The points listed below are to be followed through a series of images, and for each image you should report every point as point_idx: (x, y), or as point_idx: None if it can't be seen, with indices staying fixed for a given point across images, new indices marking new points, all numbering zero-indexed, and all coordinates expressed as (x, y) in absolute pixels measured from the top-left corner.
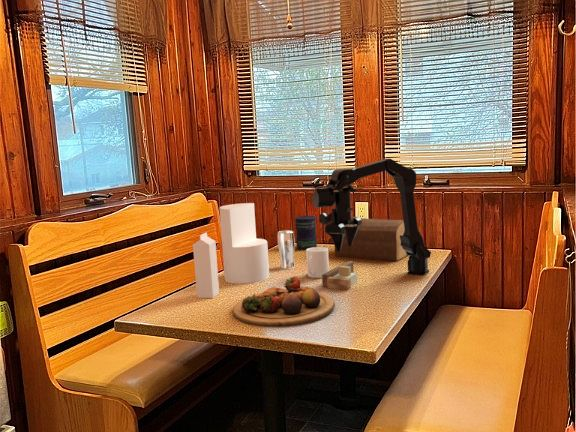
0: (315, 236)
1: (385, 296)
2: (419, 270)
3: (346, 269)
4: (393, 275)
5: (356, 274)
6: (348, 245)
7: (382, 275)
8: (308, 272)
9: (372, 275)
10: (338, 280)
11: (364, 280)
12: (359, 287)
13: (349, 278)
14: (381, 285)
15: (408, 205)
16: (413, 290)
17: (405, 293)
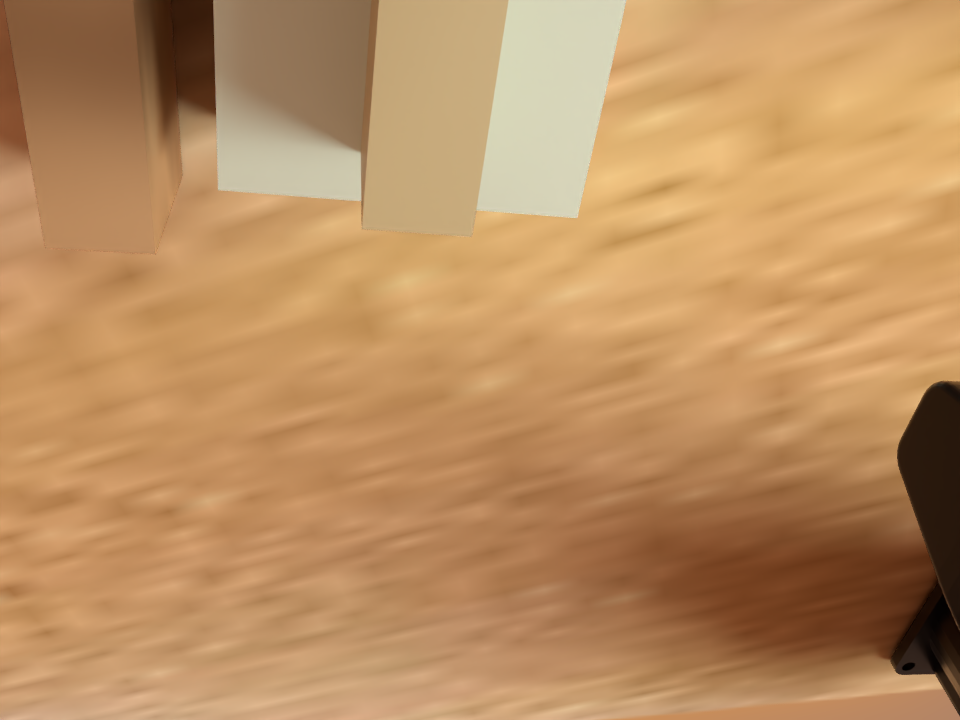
0: None
1: (54, 601)
2: (944, 662)
3: (365, 159)
4: None
5: (557, 208)
6: (936, 393)
7: (922, 348)
8: None
9: (935, 237)
10: (21, 47)
11: (659, 218)
12: (283, 269)
13: (264, 186)
14: (456, 462)
15: None
16: (360, 711)
17: (240, 692)
